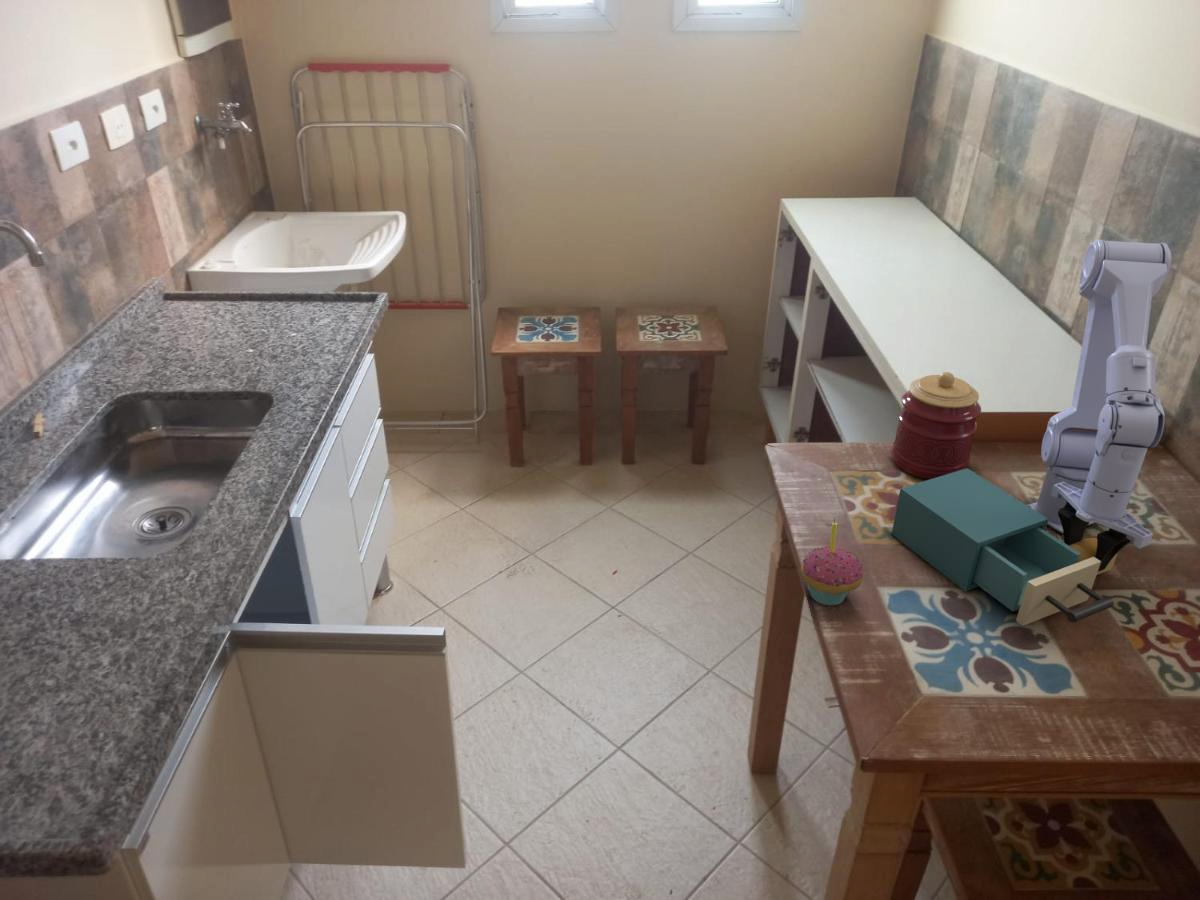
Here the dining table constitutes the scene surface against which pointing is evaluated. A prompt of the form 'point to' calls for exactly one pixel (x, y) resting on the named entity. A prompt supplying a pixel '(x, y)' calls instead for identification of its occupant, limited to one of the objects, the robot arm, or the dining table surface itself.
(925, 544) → the cabinet
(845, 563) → the cupcake
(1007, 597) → the drawer
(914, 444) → the kitchen canister
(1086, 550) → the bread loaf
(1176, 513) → the dining table surface
